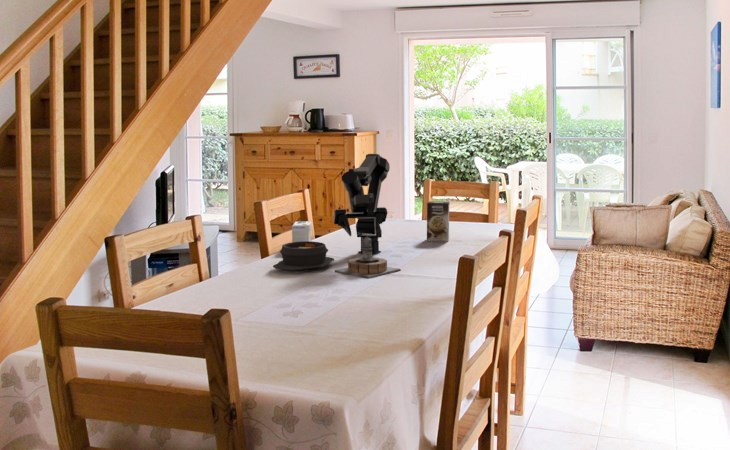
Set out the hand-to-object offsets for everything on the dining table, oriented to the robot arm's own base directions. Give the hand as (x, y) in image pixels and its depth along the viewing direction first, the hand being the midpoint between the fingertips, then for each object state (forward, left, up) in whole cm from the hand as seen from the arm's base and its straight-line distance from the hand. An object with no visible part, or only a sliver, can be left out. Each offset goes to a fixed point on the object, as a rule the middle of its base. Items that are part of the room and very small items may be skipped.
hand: (363, 235), depth 284 cm
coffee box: (-15, +61, -12) cm, 64 cm away
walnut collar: (+5, -4, -12) cm, 13 cm away
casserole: (-16, -14, -12) cm, 24 cm away
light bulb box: (-43, +10, -12) cm, 45 cm away
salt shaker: (+5, -4, -11) cm, 13 cm away
